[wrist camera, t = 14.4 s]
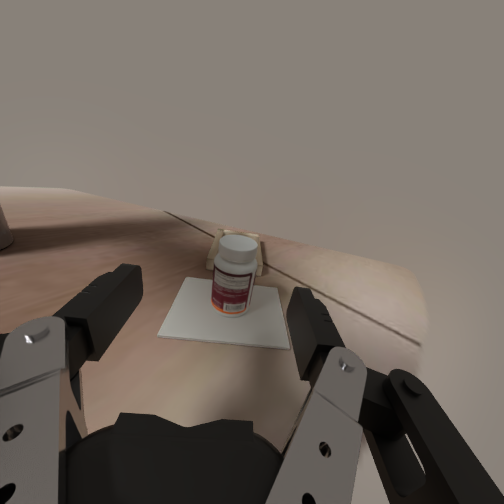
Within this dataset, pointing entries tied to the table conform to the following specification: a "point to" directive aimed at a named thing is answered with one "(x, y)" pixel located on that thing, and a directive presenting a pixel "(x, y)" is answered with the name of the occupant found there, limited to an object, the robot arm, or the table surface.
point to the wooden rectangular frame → (221, 233)
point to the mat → (226, 318)
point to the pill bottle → (234, 275)
